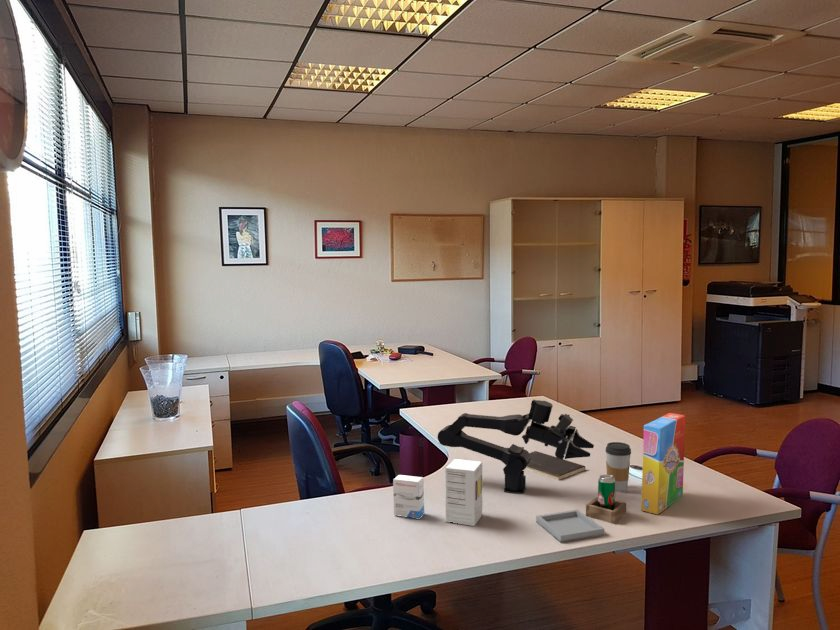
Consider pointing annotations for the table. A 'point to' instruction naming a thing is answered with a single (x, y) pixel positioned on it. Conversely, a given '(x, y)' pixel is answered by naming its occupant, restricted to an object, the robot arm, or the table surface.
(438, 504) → the table surface
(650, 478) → the game box
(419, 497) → the ink box
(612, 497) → the soda can
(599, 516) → the walnut cup-holder
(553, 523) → the grey tray
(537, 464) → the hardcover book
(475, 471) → the supplement box
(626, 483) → the coffee cup
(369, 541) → the table surface
